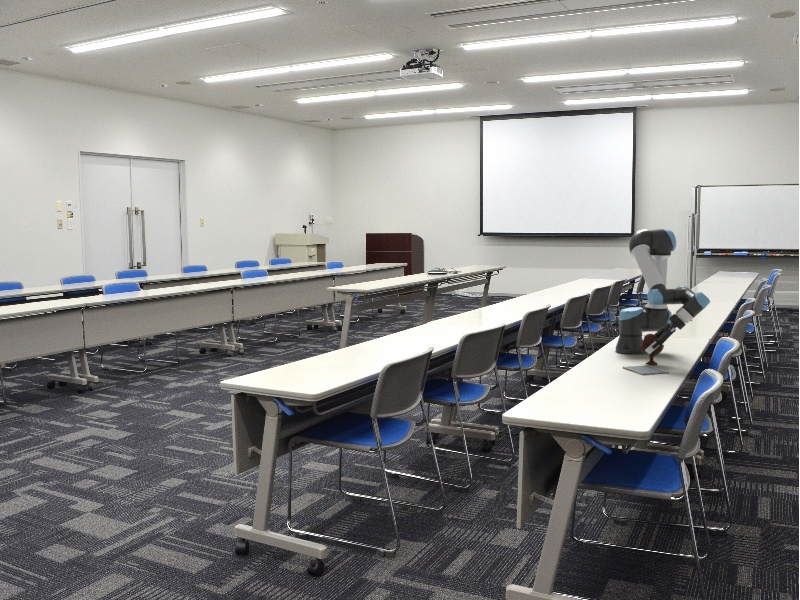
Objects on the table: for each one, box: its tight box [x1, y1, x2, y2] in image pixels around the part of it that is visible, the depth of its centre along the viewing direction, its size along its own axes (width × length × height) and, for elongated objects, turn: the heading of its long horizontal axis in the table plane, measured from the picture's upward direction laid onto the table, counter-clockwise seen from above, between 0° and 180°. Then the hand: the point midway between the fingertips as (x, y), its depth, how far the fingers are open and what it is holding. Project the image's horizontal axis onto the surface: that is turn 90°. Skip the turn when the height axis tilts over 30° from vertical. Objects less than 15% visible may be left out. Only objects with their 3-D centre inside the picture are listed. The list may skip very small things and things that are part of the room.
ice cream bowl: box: [640, 333, 665, 366], centre depth 343 cm, size 11×11×15 cm
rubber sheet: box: [622, 364, 670, 376], centre depth 328 cm, size 17×13×1 cm
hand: (645, 350), depth 343 cm, fingers closed on ice cream bowl, 11 cm apart
